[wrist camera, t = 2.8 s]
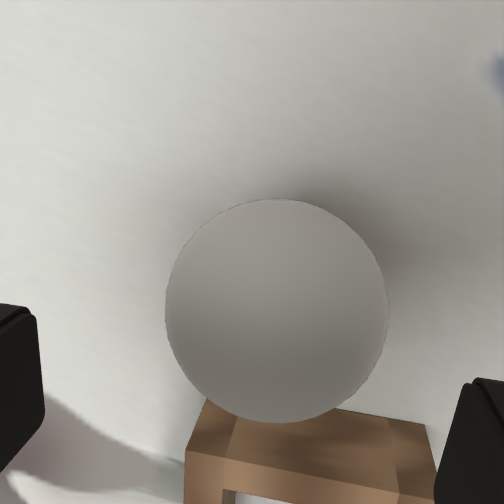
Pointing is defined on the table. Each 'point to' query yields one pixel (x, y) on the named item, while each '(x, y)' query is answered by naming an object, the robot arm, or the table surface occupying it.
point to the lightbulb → (276, 311)
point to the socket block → (308, 460)
